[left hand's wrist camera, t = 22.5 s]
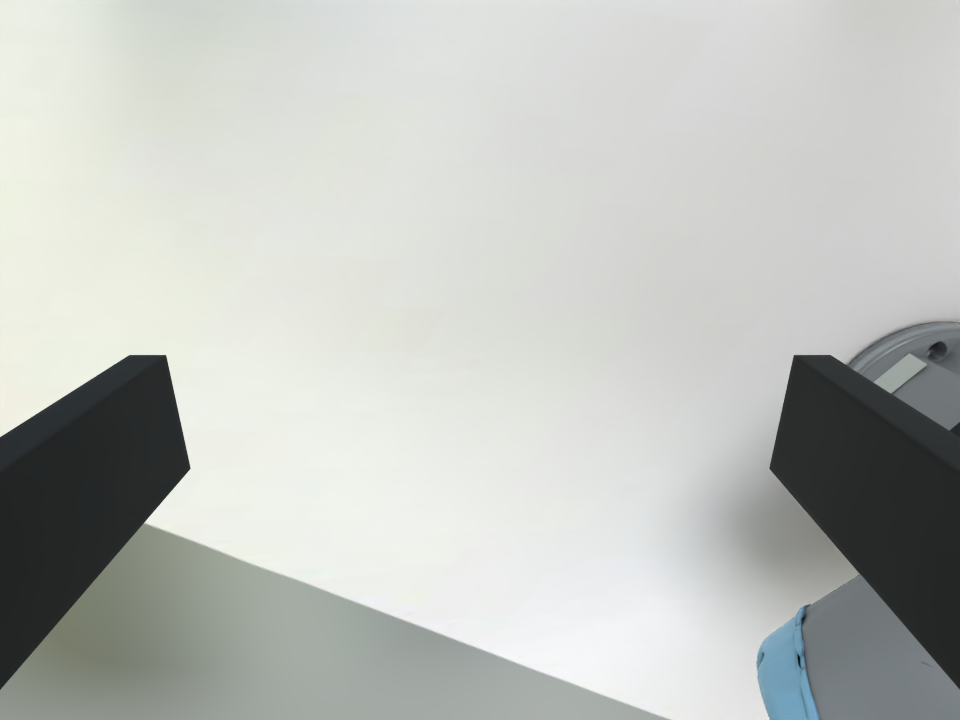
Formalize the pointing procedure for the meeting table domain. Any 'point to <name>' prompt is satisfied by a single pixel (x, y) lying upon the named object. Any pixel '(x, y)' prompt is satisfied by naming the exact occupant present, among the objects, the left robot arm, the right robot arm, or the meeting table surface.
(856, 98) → the meeting table surface
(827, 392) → the left robot arm
